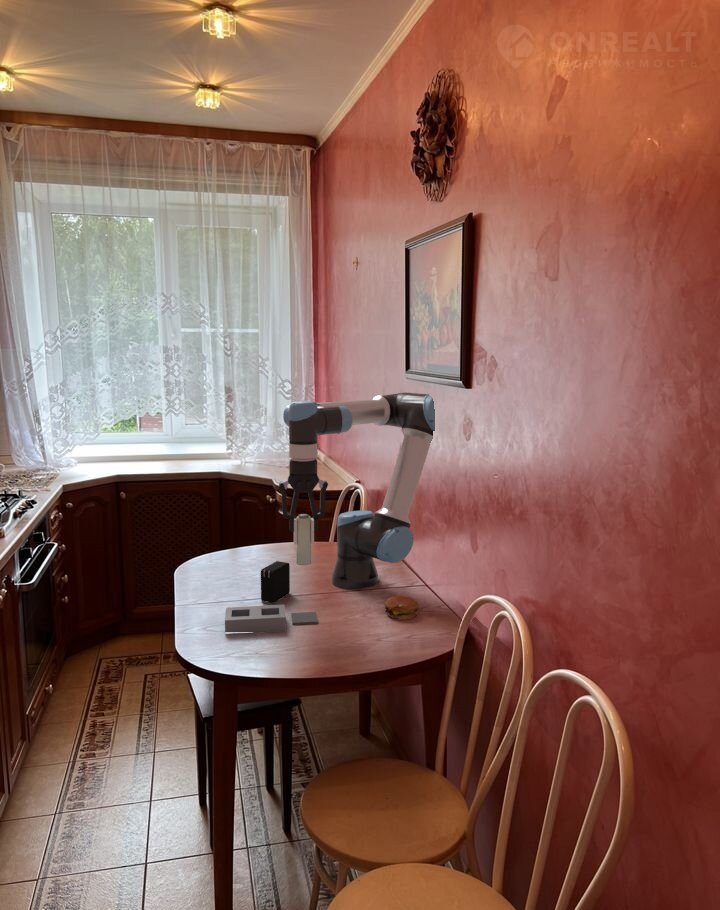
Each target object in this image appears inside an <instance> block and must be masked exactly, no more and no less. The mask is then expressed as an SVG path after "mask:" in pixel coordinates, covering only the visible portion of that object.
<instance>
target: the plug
mask: <svg viewBox="0 0 720 910" xmlns="http://www.w3.org/2000/svg"><path fill="white" fill-rule="evenodd" d="M295 517H296V518H295V519H296V520H297V544H296V564H297V565H299V566H309V565H311V564H312V544H311V518H312V517H311V516H310V515H309V514H307V513H300V514H298V516H295Z"/></svg>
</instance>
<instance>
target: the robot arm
mask: <svg viewBox="0 0 720 910" xmlns="http://www.w3.org/2000/svg"><path fill="white" fill-rule="evenodd" d="M429 394H430V393H415V392H414V393H413V392H398V393H392V394H391V393H390V394H384V395H376V396H374V397H373V398H372V399H361V400H360V399H358V400H344V401H343V400H342V401H341V400H340V401H329V402H327V401H326V402H316V401H313V400H311V401H310V400H295V401H292V402H291V403H290V404H288V405H286V406H285V408H284V411H283V413H282V415H283V422H284V424H285V425H286V426H287V427H288V438H289V439H288V441H289V443H288V445H289V447H288V449H289V451H288V452H289V456H288V457H289V458H290V459H289V462H288V463H289V467H288V468H289V475H288V477H287V479H286V480H284V481H279V482H278V486H279V489H280V491H281V507H282V510H281V511H282V518H283V519H285V520H288V521H289V526H288V527H289V532H290V533H292V532H293V544H294V545H297V520H296V518H295V517H296V511H297V506H298V502H299V497H300V494H302V493H303V494H304V493H305V494H308V499H309V503H310V508H311V512H312V517H311V545H312V544H315V532H318V530H319V520H320V519H321V518H325V515H326V513H325V511H326V490H327V489H328V486H329V483H328V481H327V480H322V479H320V478H319V475H318V460H317V459H316V458H318V436H323V435H325V436H326V435H334V434H335V435H337V434H338V435H339V434H342V433H347V432H349V430H350V429H351V428H352V426H357V425H368V424H374V425H376V426H380V427H381V426H391V427H395V428H396V427H397V428H401V432H402V434H403V439H402V443H401V446H400V449H399V453H398V455H397V458H396V461H395V463H394V464H395V465H394V467H393V471H392V475H391V478H390V479H389V480H390V481H389V484H388V487H387V490H386V493H385V497H384V499H383V502H382V506H381V508H380V509H378V510H377V511H375V512H373V511H371V510H351V511H346V512H342V513H340V514H339V515H338V517H337V524H336V547H337V548H336V550H337V551H336V553H337V555H336V561H335V564H334V567H333V570H332V573H331V583H332V584H333V585H334V586H336V587H340V588H342V589H350V590H354V589H355V590H357V589H359V590H360V589H369V588H371V587H373V586H376V585H377V584H378V583H379V572H378V569H377V566H376V564H375V561H374V559H377V560H380V561H381V562H387V563H390V564H396V563H399V562H402V560H404V559H406V557H407V556H409V554H410V553H411V550H412V548H413V546H414V541H415V538H414V534H413V531H412V530H411V529H410V528H411V524H412V522H411V521H410V519H409V514H410V511H411V508H412V505H413V502H414V498H415V494H416V492H417V489H418V485H419V484H420V483H419V482H420V479H421V476H422V472H423V469H424V466H425V463H426V461H427V456H428V454H429V450H430V447H431V444H430V443H431V441H432V439H433V431H435V409H434V401H433V398H432V397H431V396H430V395H429ZM289 485H290V487H291V489H292V490H293V497H292V501H291V507H290V511H289V513H288V501H287V499H288V497H287V489H288V488H289ZM317 485H318V486H319V488H320V489H319V490H320V491H319V512H318V510H317V506H316V501H315V497H314V496H315V495H314V489H315V488H316V486H317Z"/></svg>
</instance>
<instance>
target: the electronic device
mask: <svg viewBox="0 0 720 910" xmlns="http://www.w3.org/2000/svg"><path fill="white" fill-rule="evenodd" d="M290 572H291V571H290V563H289V562H285V561H279V560H276V561H274V562H272V563H271V564H269V565H267V566H265V567H263V568H261V570H260V600H261V601H262V602H266V603H271V604H275V603H276V602H278V601H280V600H282V599H283V598H284V597H286V596H288V595H289V594H290V590H291V589H290V588H291V586H290V585H291V581H290V580H291V577H290V574H291V573H290Z"/></svg>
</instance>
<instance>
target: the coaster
mask: <svg viewBox="0 0 720 910" xmlns="http://www.w3.org/2000/svg"><path fill="white" fill-rule="evenodd" d="M290 615H291V622H292V623H291V625H292V626H296V625H298V626H299V625H300V626H301V625H313V624H314V625H315V624H316V625H317V624H319V620H318V616H317V615H318V614H317V611H305V612H291V613H290Z"/></svg>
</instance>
